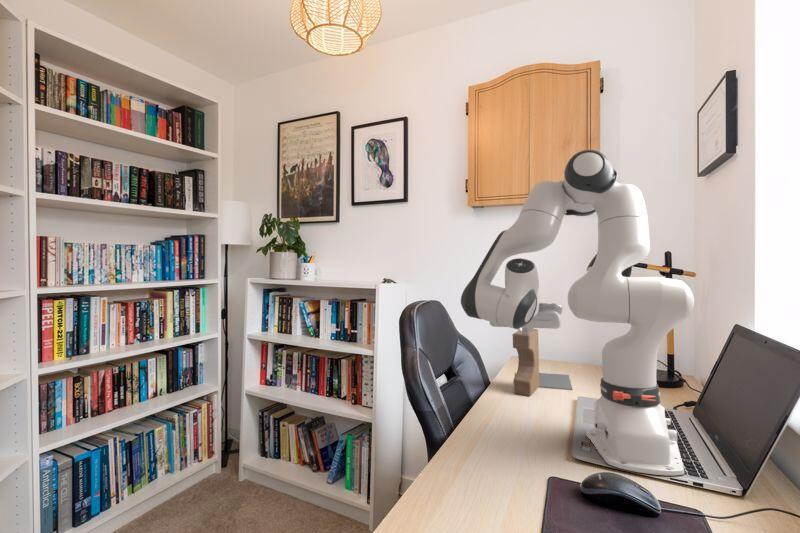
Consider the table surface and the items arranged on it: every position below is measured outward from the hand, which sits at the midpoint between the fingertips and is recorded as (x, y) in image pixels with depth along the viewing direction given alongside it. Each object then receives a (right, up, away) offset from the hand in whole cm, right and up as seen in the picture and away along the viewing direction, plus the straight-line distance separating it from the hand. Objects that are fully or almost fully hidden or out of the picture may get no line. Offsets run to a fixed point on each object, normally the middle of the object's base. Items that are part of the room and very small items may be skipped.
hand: (525, 332), depth 120 cm
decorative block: (+4, -21, +11) cm, 24 cm away
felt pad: (+13, -21, +23) cm, 34 cm away
